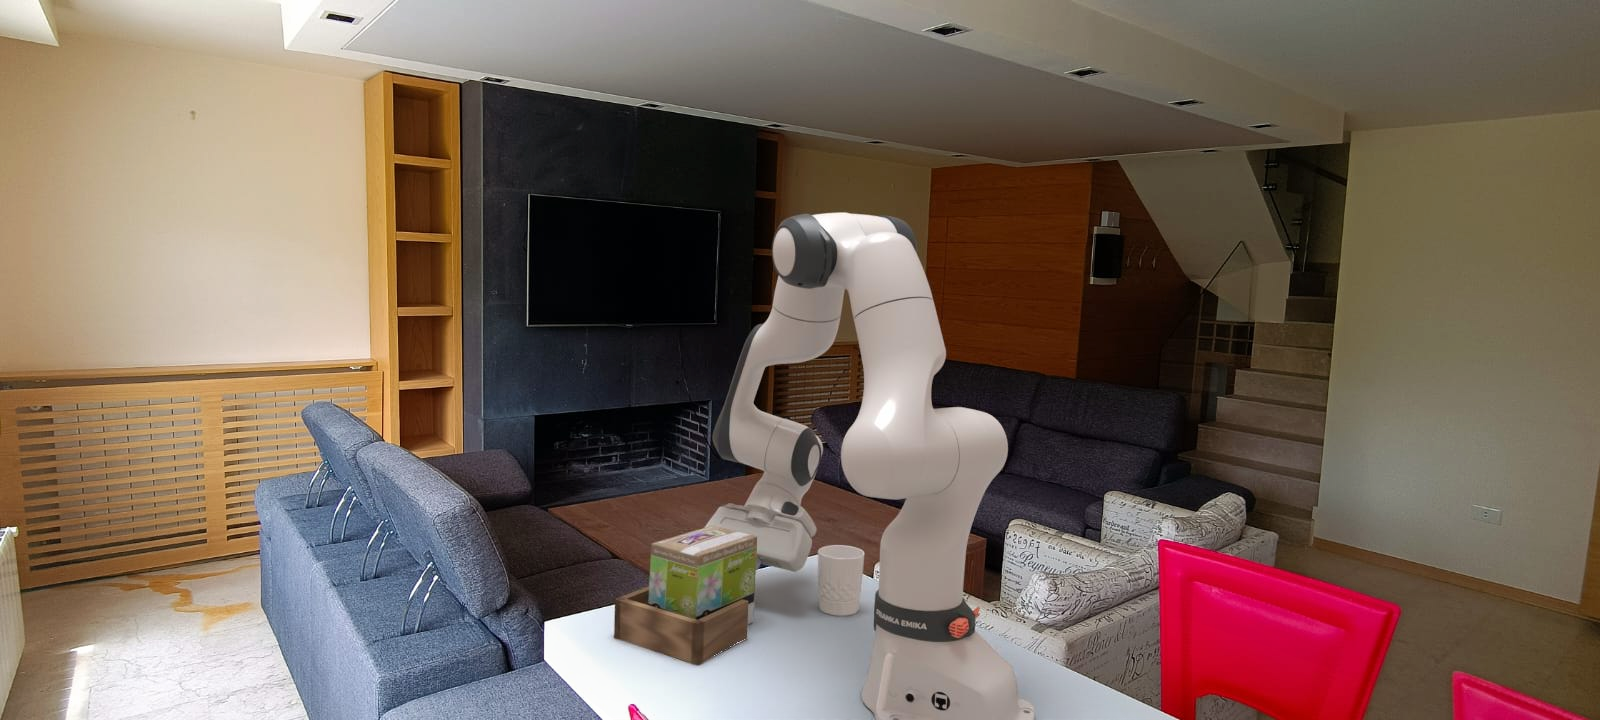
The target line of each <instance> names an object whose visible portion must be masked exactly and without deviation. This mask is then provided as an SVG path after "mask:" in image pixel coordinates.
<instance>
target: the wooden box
mask: <svg viewBox="0 0 1600 720" xmlns="http://www.w3.org/2000/svg"><path fill="white" fill-rule="evenodd" d="M648 600H649V585H648V586H645V587H643V588H640V589H638V590H635V591H633V592H630V593H628V594H624V595H623V596H620V597H617V598H615V599H614V620H613V621H614V622H613V623H614V624H613V625H614V626H613V628H614V629H613V630H614V631H613V638H614V639H617V640H621V641H623V642H627V643H629V644H633V645H637V646H639V647H642V648H644V649H648V650H650V651H654V652H657V653H659V654H662V655H665V656H668V657H671V658H675V659H678V660H681V661H684V662H687V663H690V664H692V665H695V666H700V665H701V664H703V663H705V662H706V660H707V659H709V658H710V659H712V658H714V657H715V656H714V655H716V654H718V653H720V652H721V651H723V652H725V651H726V650H725V649H727V648H729V647H730V646H733V645H734V644H736V643H737V642H740V641H742V640H744V639H746V638H747V639H748V629H749V628H748V626H749V625H748V601H747V600H743V599H742V600H739V601H737V602H735V603H733V604H731V605H729V606H727V607H724V608H722V609H720V610H718V611H716V612H714V613H712V614H709V615H707V616H705V617H703V618H701V619H699V620H696V619H693V618H689V617H686V616H683V615H679V614H676V613H673V612H669V611H666V610H662V609H659V608H656V607H652V606H649V605H648ZM747 639H746V640H747ZM744 641H745V640H744ZM742 642H743V641H742ZM740 643H741V642H740ZM733 647H734V646H733ZM729 649H730V648H729ZM724 650H725V651H724ZM727 650H728V649H727ZM720 654H721V653H720ZM718 655H719V654H718ZM713 656H714V657H713ZM716 656H717V655H716ZM711 657H712V658H711ZM710 659H709V660H710ZM704 661H705V662H704ZM707 661H708V660H707ZM702 662H703V663H702Z"/></svg>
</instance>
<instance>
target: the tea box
mask: <svg viewBox="0 0 1600 720" xmlns="http://www.w3.org/2000/svg"><path fill="white" fill-rule="evenodd" d="M650 545H651V546H650V547H651V549H650V563H649V564H650V565H649V566H650V567H649V579H648V580H649V581H648V582H649V585H648V586H649V600H648V605H649V606H652V607H656V608H659V609H662V610H666V611H669V612H673V613H676V614H679V615H683V616H686V617H689V618H693V619H696V620H699V619H701V618H703V617H705V616H707V615H709V614H712V613H714V612H716V611H718V610H720V609H722V608H724V607H727V606H729V605H731V604H733V603H735V602H737V601H739V600H742V599H743V600H747V601H748V624H749V623H751V622H752V623H753V622H754V612H755V611H754V609H755V594H756V593H755V592H756V573H757V570H756V556H757V536H754V535H750V534H746V533H742V532H737V531H733V530H729V529H725V528H720V527H716V526H709V527H706V528H705V527H703V528H700V529H695V530H691V531H689V532H686V533H683V534H679V535H676V536H672V537H669V538H665V539H662V540H659V541H655V542H652V543H651V544H650ZM752 623H751V624H752ZM749 625H750V624H749Z"/></svg>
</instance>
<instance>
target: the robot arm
mask: <svg viewBox="0 0 1600 720" xmlns="http://www.w3.org/2000/svg"><path fill="white" fill-rule="evenodd" d="M771 244H772V245H771V258H772V264H773V267H774V270H775V272H776V273H777V275H778V277H777V281H776V285H775V289H774V293H773V294H774V295H773V301H772V308H771V310H770V313H769V316H768V318H767V319H766V321H765V322H764V323H759V324H757V325H755V326H754V327H753V328H752V330H751V331H750V332H749V334H748V336H747V338H746V340H745V342H744V344H743V347H742V350H741V353H740V355H739V358H738V361H737V364H736V367H735V371H734V374H733V376H732V380H731V383H730V386H729V389H728V392H727V396H726V399H725V401H724V405H723V406H722V409H721V411H720V414H719V415H718V418H717V420H716V423H715V426H714V429H713V432H712V442H713V445H714V447H715V449H716V451H717V453H718V455H719V456H720V458H722V459H723V460H727V461H731V462H733V463H738V464H743V465H745V466H750V467H752V468H755V469H757V470H758V469H759V470H761V471H763V474H762V476H761V478H760V479H759V480H758V481H757V482H756V484H754V487H753V489H752V491H751V493H750V495H749V496H748V498H747V500H746V501H745V504H744V505H742V504H741V505H740V504H734V503H730V502H729V503H726V504H723V505H722V506H719V507H718V508H717V509H716V511H715V512H714V514H713V515H712V516H711V518H710V519H709V520H708V522H707V523H706V525H704V528H706V527H709V526H716V527H720V528H725V529H729V530H733V531H737V532H742V533H746V534H750V535H754V536H757V556H756V571H757V570H759V568H760V566H761V565H765V566H769V567H774V568H778V569H780V570H781V569H782V570H785V571H790V572H793V573H796V572H798V571H801V569H803V568H804V566H805V564H806V562H807V561H808V560H807V559H808V558H809V555H810V552H811V550H812V545H813V539H812V538H813V537H814V536H815V535H816V533H817V530H818V529H817V526H816V524H815V522H814V521H813V519H812V517H811V516H810V514H809V513H808V512H807V510H806V509H805V508H804V507H803V506H801V504H802V499H803V497H804V495H805V494H806V493H807V492H808V491H809V489H810V487H811V486H812V483H813V482H814V480H815V477H816V474H817V472H818V469H819V466H820V464H821V461H822V455H823V452H824V446H823V443H822V440H821V439H820V437H819V436H817V435H816V434H815V432H814V430H813V429H812V428H811V427H808V426H807V425H804V424H802V423H799V422H797V421H793V420H790V419H787V418H783V417H780V416H777V415H773V414H771V413H768V412H765V411H762V410H760V409H758V407H757V406H756V405H755V404H754V401H755V398H756V395H757V391H758V389H759V386H760V383H761V380H762V377H763V374H764V371H765V369H766V367H768V366H769V367H770V366H774V365H782V364H785V365H786V364H798V363H804V362H807V361H812V360H814V359H816V358H819V357H820V356H822V355H823V354H825V353H826V352H827V351H829V349H830V348H831V347H832V346H833V344H834V342H835V340H836V337H837V334H838V331H839V326H840V321H841V317H842V316H841V315H842V309H843V304H844V303H843V302H844V295H845V290H846V291H847V293H848V297H849V303H850V309H851V314H852V319H853V323H854V326H855V331H856V336H857V343H858V346H859V351H860V356H861V362H862V366H863V369H862V370H863V380H864V382H863V394H862V401H861V406H860V409H859V411H858V415H857V416H856V419H855V421H854V422H853V424H852V425H851V426H850V427H849V428H848V430H847V432H846V434H845V435H844V438H843V440H842V444H841V448H840V449H841V450H840V462H841V467H842V471H843V473H844V476H845V479H846V480H847V482H848V483H849V485H850V486H851V487H852V488H853V489H854V491H856V492H857V493H859V494H860V495H862V496H865V497H869V498H874V499H875V498H877V499H884V500H885V499H886V500H903V499H905V501H904V504H903V505H902V508H901V509H900V511H899V512H898V514H897V516H896V517H895V518H894V519H893V520H892V521H891V522H890V523H889V524H888V525H887V526H886V528H885V530H884V531H883V533H882V536H881V540H880V546H879V569H878V570H879V571H878V573H879V574H878V575H879V576H878V589H877V590H876V591H875V595H874V606H873V630H874V640H873V647H872V653H871V658H870V663H869V667H868V671H867V675H866V678H865V681H864V684H863V687H862V690H861V694H860V695H861V700H862V702H863V704H864V705H865V707H867V708H868V709H869V710H870V711H871V712H872V713H873V715H874V720H1036V712H1035V708H1034V706H1033V704H1032V703H1031V702H1030V701H1028V700H1026V699H1023V698H1020V697H1019V692H1018V683H1017V678H1016V673H1015V670H1014V669H1013V668H1014V667H1013V666H1012V665H1011V664H1010V663H1009V662H1008V661H1007V660H1006V659H1005V658H1004V657H1003V656H1002V655H1001V654H1000V653H999V652H998V651H996V650H995V648H993V647H992V645H990V643H988V642H987V641H986V640H985V639H984V637H982V636H981V635H980V634H979V633H978V632H977V631H976V620H977V618H978V617H979V616H980V610H981V608H980V606H977V607H976V608H974V609H972V608H971V607H970V606H969V605H968V603H967V602H966V600H965V598H964V597H963V595H964V594H963V593H964V582H965V581H964V579H965V568H966V567H965V566H966V556H967V554H966V553H967V546H968V542H969V541H968V540H969V536H970V533H971V529H972V525H973V522H974V519H975V516H976V514H977V511H978V508H979V506H980V504H981V501H982V499H983V497H984V494H985V493H986V490H987V489H988V487H989V485H990V484H991V482H992V481H993V479H995V478H996V476H997V475H998V474H999V473H1000V472H1001V471H1002V469H1003V468H1004V466H1005V463H1006V461H1007V458H1008V452H1009V447H1008V446H1009V443H1008V438H1007V435H1006V432H1005V430H1004V428H1003V426H1002V424H1001V423H1000V422H999V420H998V419H996V418H995V417H994V416H993V415H991V414H989V413H988V412H985V411H982V410H978V409H977V410H976V409H972V408H967V407H962V406H956V407H955V406H953V407H941V408H939V407H938V408H934V407H933V403H932V386H933V385H932V384H933V380H934V376H935V375H936V374H937V373H938V372H939V371H940V370H941V369H942V367H943V366H944V363H945V361H946V358H947V349H946V345H945V342H944V338H943V333H942V329H941V325H940V322H939V317H938V314H937V310H936V305H935V302H934V298H933V294H932V290H931V286H930V284H929V281H928V278H927V275H926V273H925V270H924V266H923V265H922V262H921V260H920V258H919V256H918V253H917V252H918V247H917V239H916V237H915V234H914V231H913V229H912V228H911V226H910V225H909V224H908V223H907V222H906V221H904V220H902V219H901V218H899V217H895V216H890V215H885V214H881V215H878V216H877V215H871V214H863V213H862V214H860V213H859V214H858V213H849V212H842V211H841V212H826V213H815V214H810V213H802V214H797V215H793V216H790V217H787V218H784V219H783V220H782V221H781V222H780V224H779V226H777V228H776V231H775V232H774V236H773V238H772V243H771Z"/></svg>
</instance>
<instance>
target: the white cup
mask: <svg viewBox="0 0 1600 720" xmlns="http://www.w3.org/2000/svg"><path fill="white" fill-rule="evenodd" d="M864 562H865V551H864V550H862V549H861V548H858V547H856V546H851V545H843V544H833V545H825V546H822V547H819V549H818V550H817V577H818V578H817V579H818V581H817V582H818V585H817V587H818V595H819V598H818V601H819V602H818V607H819V610H820V612H823V613H824V614H827V615H831V616H837V617H839V616H840V617H843V616H844V617H845V616H851V615H855V614H857V612H858V611H859V609H860V599H861V597H860V596H861V592H862V583H863V573H864Z"/></svg>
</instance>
